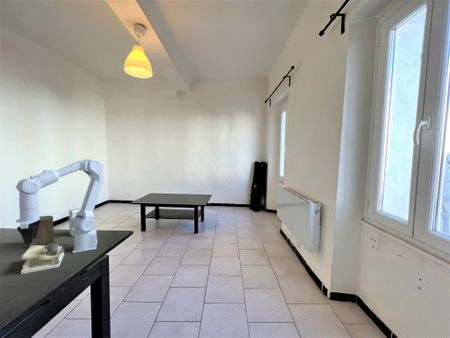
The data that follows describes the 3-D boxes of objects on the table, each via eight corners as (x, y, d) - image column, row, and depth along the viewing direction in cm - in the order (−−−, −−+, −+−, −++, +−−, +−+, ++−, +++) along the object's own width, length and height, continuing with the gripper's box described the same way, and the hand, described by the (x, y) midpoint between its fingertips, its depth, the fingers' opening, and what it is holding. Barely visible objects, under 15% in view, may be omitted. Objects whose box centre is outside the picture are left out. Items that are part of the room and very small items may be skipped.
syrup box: (81, 231, 129) (80, 207, 128) (84, 234, 125) (83, 209, 124) (69, 234, 124) (68, 209, 124) (72, 236, 121) (72, 211, 120)
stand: (64, 254, 99) (64, 248, 99) (58, 266, 88) (58, 260, 88) (31, 259, 94) (31, 253, 93) (21, 274, 82) (21, 267, 82)
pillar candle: (59, 241, 114) (57, 213, 114) (41, 248, 105) (40, 218, 104) (42, 240, 115) (41, 212, 115) (23, 248, 106) (22, 218, 105)
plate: (62, 248, 98) (65, 237, 99) (57, 259, 88) (60, 247, 88) (30, 247, 93) (34, 236, 93) (21, 259, 82) (25, 246, 83)
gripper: (22, 205, 92) (23, 236, 92) (8, 213, 79) (10, 249, 80) (43, 203, 95) (44, 234, 96) (33, 211, 83) (35, 245, 83)
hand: (30, 240), depth 88 cm, fingers open, 5 cm apart
